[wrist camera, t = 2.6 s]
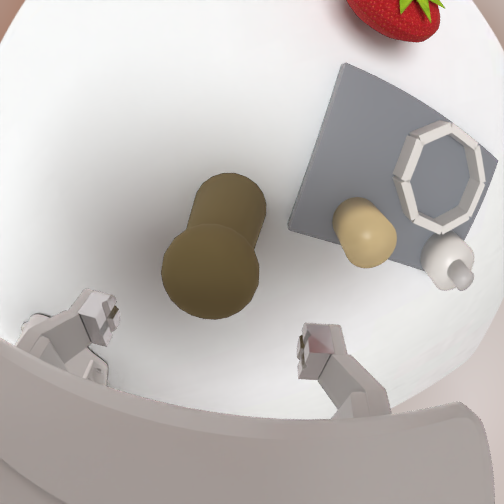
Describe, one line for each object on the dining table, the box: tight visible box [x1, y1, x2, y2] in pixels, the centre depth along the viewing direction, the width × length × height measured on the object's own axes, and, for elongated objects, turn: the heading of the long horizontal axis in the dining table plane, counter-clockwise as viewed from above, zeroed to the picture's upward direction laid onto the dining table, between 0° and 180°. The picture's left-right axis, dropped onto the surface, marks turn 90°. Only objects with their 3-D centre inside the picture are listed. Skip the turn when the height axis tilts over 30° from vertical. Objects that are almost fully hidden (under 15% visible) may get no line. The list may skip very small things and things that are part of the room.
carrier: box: [288, 63, 498, 291], centre depth 18 cm, size 14×18×6 cm
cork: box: [161, 173, 266, 320], centre depth 18 cm, size 6×6×11 cm
